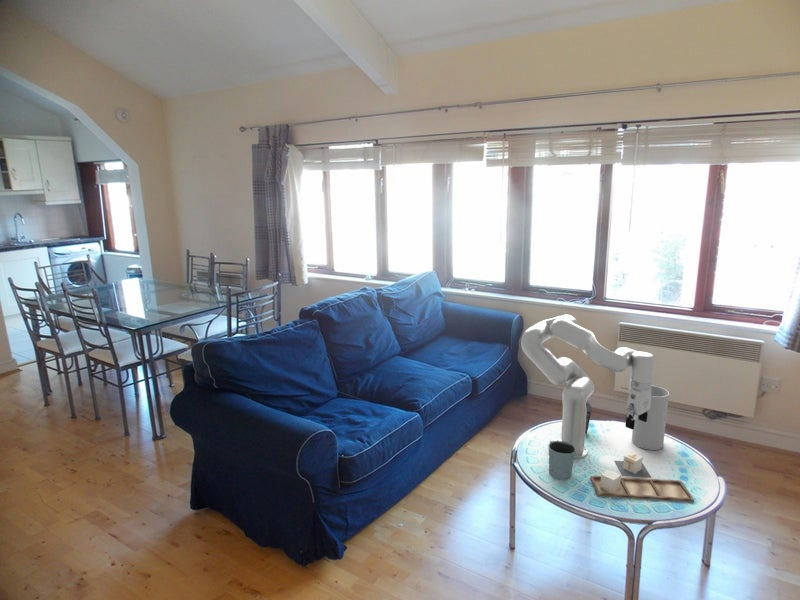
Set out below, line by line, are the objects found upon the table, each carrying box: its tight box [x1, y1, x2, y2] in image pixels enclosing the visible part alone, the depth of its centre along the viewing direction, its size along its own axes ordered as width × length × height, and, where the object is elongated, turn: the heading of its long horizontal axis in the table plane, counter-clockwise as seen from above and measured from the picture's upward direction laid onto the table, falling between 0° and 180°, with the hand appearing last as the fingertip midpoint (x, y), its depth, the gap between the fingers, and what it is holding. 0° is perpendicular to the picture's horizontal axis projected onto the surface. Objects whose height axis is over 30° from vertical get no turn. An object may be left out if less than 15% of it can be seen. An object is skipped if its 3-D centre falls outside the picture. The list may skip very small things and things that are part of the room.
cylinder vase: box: [631, 384, 670, 451], centre depth 217 cm, size 12×12×25 cm
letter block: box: [623, 451, 644, 474], centre depth 200 cm, size 5×5×6 cm
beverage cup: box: [585, 401, 593, 435], centre depth 229 cm, size 7×7×20 cm
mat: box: [613, 460, 653, 479], centre depth 201 cm, size 11×11×1 cm
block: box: [600, 469, 622, 493], centre depth 188 cm, size 5×5×6 cm
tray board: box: [589, 475, 695, 503], centre depth 187 cm, size 33×12×1 cm, turn 82°
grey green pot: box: [548, 440, 576, 481], centre depth 197 cm, size 10×10×12 cm
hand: (636, 424), depth 196 cm, fingers open, 9 cm apart
